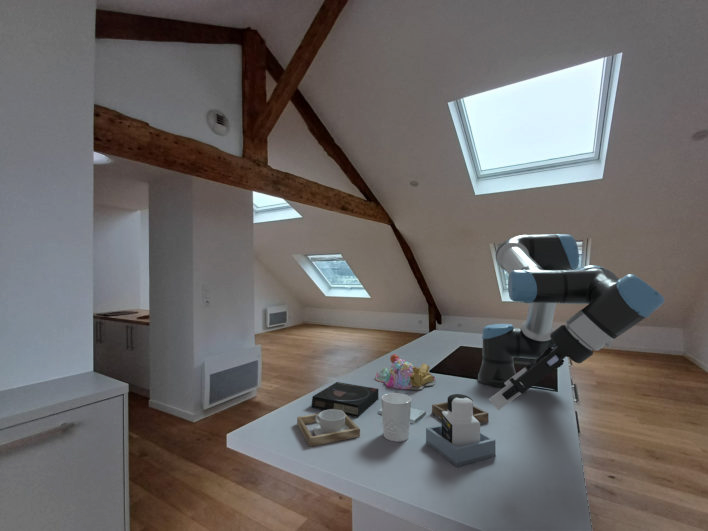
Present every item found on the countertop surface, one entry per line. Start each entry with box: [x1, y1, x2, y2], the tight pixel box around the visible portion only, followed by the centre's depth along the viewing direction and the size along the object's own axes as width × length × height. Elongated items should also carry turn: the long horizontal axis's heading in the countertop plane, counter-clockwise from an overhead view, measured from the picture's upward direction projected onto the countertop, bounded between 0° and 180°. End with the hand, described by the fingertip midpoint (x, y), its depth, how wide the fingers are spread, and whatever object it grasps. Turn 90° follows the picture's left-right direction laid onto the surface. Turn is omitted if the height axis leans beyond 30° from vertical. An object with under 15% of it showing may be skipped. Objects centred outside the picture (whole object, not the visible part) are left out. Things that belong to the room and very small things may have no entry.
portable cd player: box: [311, 381, 379, 418], centre depth 111 cm, size 16×17×4 cm
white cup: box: [381, 392, 412, 443], centre depth 89 cm, size 8×8×10 cm
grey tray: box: [425, 424, 496, 468], centre depth 82 cm, size 12×12×4 cm
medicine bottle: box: [441, 393, 481, 447], centre depth 82 cm, size 7×7×12 cm
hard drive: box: [377, 407, 427, 425], centre depth 103 cm, size 2×8×12 cm
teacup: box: [313, 409, 350, 436], centre depth 91 cm, size 10×10×5 cm
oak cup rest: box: [296, 410, 361, 447], centre depth 91 cm, size 14×14×2 cm
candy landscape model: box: [375, 353, 437, 391], centre depth 136 cm, size 25×24×9 cm
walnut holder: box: [431, 401, 489, 424], centre depth 101 cm, size 12×12×2 cm
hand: (501, 395), depth 76 cm, fingers open, 13 cm apart
